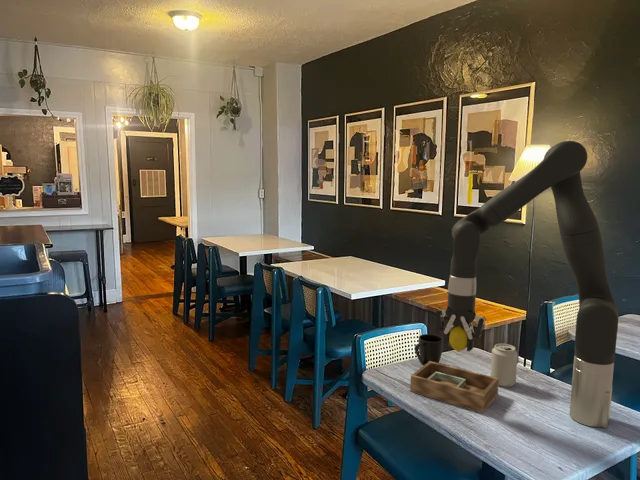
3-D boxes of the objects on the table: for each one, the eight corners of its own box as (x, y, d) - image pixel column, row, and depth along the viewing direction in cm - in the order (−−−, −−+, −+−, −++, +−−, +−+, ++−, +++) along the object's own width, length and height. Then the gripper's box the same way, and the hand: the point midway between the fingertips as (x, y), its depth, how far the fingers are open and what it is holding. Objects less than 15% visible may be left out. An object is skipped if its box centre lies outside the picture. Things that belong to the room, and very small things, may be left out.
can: (511, 390, 146) (514, 352, 144) (487, 383, 150) (489, 347, 148) (518, 381, 152) (520, 345, 150) (494, 375, 156) (496, 340, 154)
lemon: (470, 350, 138) (471, 324, 137) (465, 357, 133) (467, 329, 132) (450, 346, 141) (452, 320, 139) (446, 353, 136) (447, 326, 135)
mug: (405, 366, 163) (406, 339, 162) (428, 357, 171) (429, 332, 169) (424, 374, 157) (425, 346, 156) (447, 365, 164) (448, 338, 163)
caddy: (497, 394, 143) (498, 378, 142) (483, 413, 132) (484, 396, 131) (429, 375, 156) (429, 361, 155) (410, 391, 145) (410, 375, 144)
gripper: (491, 292, 133) (487, 349, 136) (442, 284, 141) (439, 339, 144) (483, 298, 127) (479, 358, 130) (432, 289, 135) (429, 346, 138)
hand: (458, 347), depth 137 cm, fingers closed on lemon, 5 cm apart
